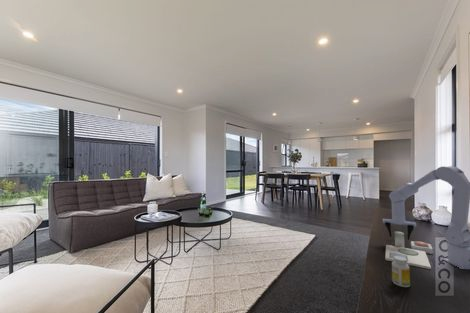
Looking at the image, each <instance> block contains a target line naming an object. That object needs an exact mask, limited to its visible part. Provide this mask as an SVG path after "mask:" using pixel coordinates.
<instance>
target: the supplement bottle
mask: <svg viewBox="0 0 470 313" xmlns="http://www.w3.org/2000/svg"><path fill="white" fill-rule="evenodd" d="M410 272H411V270H410V265H407V259H406V258H404V257H401V256H394V262H393V261H391V280H392V282H393V284H394V285H396V286H399V287H401V288H402V287H403V288H409V287H410V286H411V274H410Z"/></svg>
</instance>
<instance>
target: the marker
mask: <svg viewBox="0 0 470 313" xmlns="http://www.w3.org/2000/svg"><path fill="white" fill-rule="evenodd" d="M394 242H395V243H394V246H397V247H403V248H406V247H405V233H404V232H402V231H394Z"/></svg>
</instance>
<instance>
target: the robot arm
mask: <svg viewBox="0 0 470 313" xmlns="http://www.w3.org/2000/svg"><path fill="white" fill-rule="evenodd" d="M438 180H440V181H443V182H446V183H447V184H449V185H450V186H451V187H453V198H452V199H453V200H452V208H451V217H450V222H449V225H448V228H447V230H446V231H445V232H444V238H445V240H446V244H447V258H445V257H444V258H443V257H442V260H443V261H445V262H447V263H449V264H451V265H453V266H455V267H456V266H457V267H456V268H458V267H459V268H458V269H461V270H470V242H469V241H470V226H469V224H468V221H469V211H470V180H469V179H468V177H467V176H466V175H465V172H464V171H463V170H462V169H460V168H459V167H456V166H455V165H449V166H445V165H444V166H440V167H438V168H436V169H433V170H431V171H430V172H428V173H426V174H425V175H424V176H422V177H420V178H419V179H418V180H416V181H415V182H412V183H411V182H407V183H403V186H401V187H399V188H396V190H394V191H393V190H392V191H391V192H390V193H389V195H388V198H389V200H390V201H391V218H382V223H383V224H384V226H385V227H386V229H387V231H388V234H389V237H390V238H392V227H391V225H399V226H400V225H401V226H406V227H407V236H406V238H407V240H408V241H409V240H410V237H411V234H412V233H413V231H414V228H417V223H416V221H415V222H414V221H407V220H406V211H405V209H406V206H405V205H406V204H405V201H406V200H407V199H408V198H409V197H411V196H414V195H415V194H417V193H418V192H419V189H420V188H421V187H424V186H425V185H428V184H430V183H431V182H434V181H438Z"/></svg>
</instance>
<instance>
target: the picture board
mask: <svg viewBox="0 0 470 313" xmlns="http://www.w3.org/2000/svg"><path fill="white" fill-rule="evenodd" d="M394 256H401V257H404V258H406V259H407V265H408V266H412V267H413V266H414V267H417V268H422V269H427V270H432V267H431V264H430V260H429V258H428V256H427V253H426V252H425V251H420V250H414V249H412V248H407V247H405V248H403V247H397V246H395V245H390V244H386V245H385V259H384V260H385V261H389V262H394Z"/></svg>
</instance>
